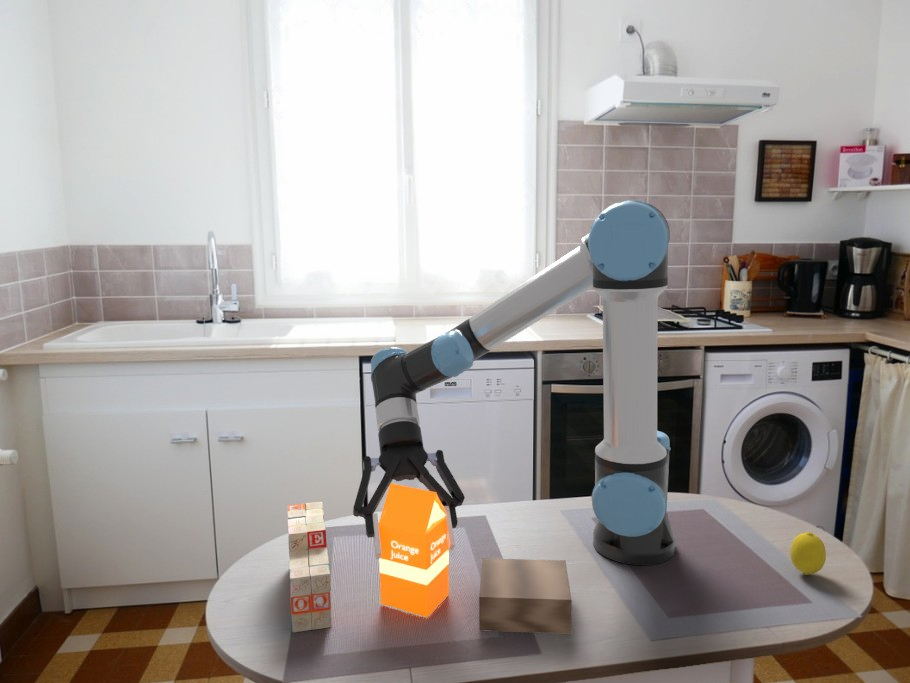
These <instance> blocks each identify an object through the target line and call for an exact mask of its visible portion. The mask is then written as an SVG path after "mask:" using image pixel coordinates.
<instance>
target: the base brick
mask: <svg viewBox="0 0 910 683" xmlns="http://www.w3.org/2000/svg"><path fill="white" fill-rule="evenodd" d="M480 570H481V572H480V582H479V596H478V602H479V603H478V614H479V616H478V619H479V620H478V621H479V628H478V629H479V630H491V631H490V632H506V633H508V632H509V633H511V632H512V633H532V634H533V633H538V634H539V633H540V634H562V635H564V634H566V635H568V634H569V635H571V634H572V606H573V605H572V602H573V601H572V600H573V599H572V593H571V587H570V580H569V574H568V568H567V561H566V560H565V559H564V560H562V559H561V560H560V559H527V558H525V559H524V558H522V559H521V558H487V557H486V558H481V569H480Z"/></svg>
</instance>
